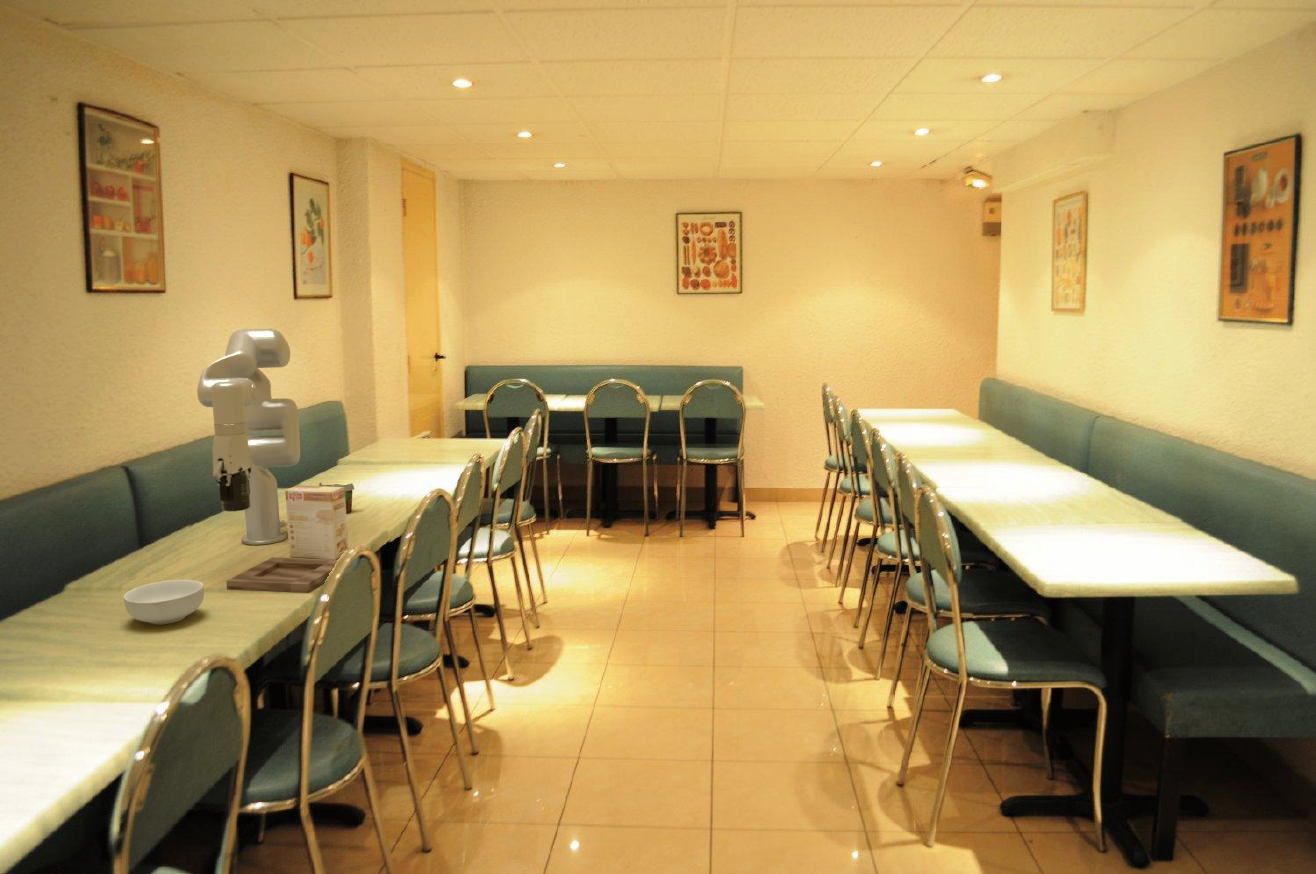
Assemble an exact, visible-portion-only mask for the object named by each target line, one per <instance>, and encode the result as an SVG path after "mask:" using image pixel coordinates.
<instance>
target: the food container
mask: <svg viewBox="0 0 1316 874" xmlns="http://www.w3.org/2000/svg"><path fill="white" fill-rule="evenodd" d="M318 486H325V487H345V502H346V515H348V514H352V513H353V512H352V511H353V510H352V509H353V490H355V486H354V484H353V482H352V483H348V484H339V483H338V484H336V483H335V484H322V482H319V483H318Z"/></svg>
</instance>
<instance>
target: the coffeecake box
mask: <svg viewBox="0 0 1316 874" xmlns="http://www.w3.org/2000/svg"><path fill="white" fill-rule="evenodd" d="M284 493H285V504H286V505H285V508H286V520H287V522H286V524H287V536H288V548H289V550H288V551H289V558H302V559H329V560H339V559H340V558H339V557H340V556H341V555H342V554H343V553H344V551H346V550H348V551H349V539H348V538H349V537H348V520H347V514H346V502H345V487H325V486H319V485H303V484H302V485H301V484H300V485H296V486H293V487H292V486H291V487H290V488H286V489H285V491H284Z"/></svg>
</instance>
